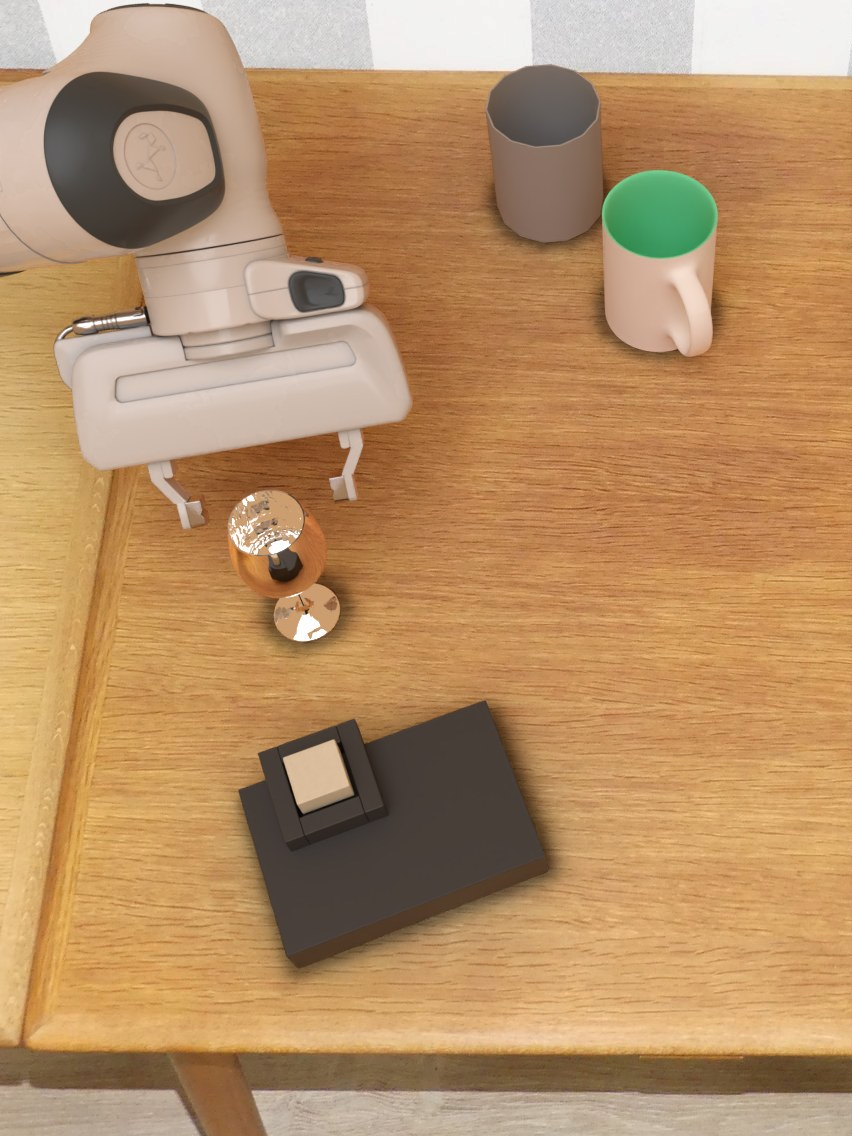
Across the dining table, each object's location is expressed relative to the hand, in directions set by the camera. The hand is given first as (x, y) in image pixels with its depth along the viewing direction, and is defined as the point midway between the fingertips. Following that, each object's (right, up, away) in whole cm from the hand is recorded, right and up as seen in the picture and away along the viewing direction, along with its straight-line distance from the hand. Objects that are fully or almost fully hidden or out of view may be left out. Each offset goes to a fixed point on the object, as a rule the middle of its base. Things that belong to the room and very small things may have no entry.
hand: (272, 513), depth 91 cm
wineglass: (+1, -6, +6) cm, 9 cm away
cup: (+16, +26, +23) cm, 38 cm away
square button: (+4, -16, -5) cm, 18 cm away
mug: (+25, +15, +17) cm, 34 cm away
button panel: (+8, -20, -1) cm, 22 cm away
